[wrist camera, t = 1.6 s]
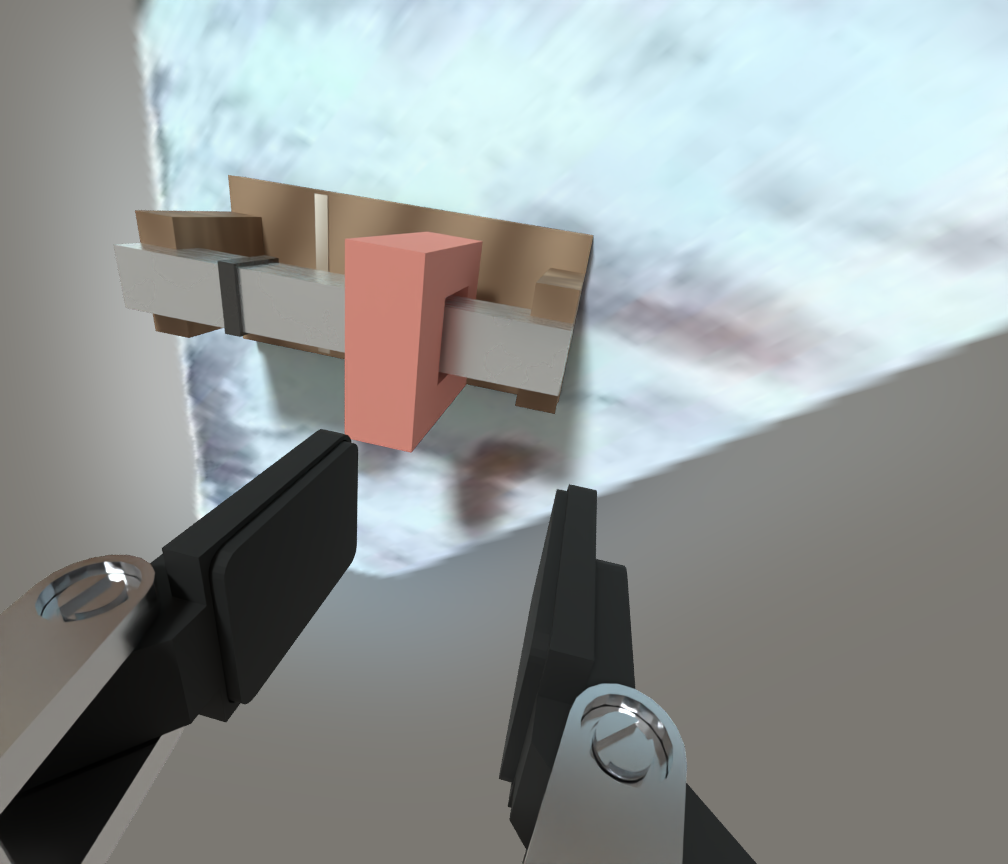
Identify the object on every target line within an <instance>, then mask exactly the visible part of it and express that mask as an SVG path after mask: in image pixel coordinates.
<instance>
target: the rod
mask: <svg viewBox="0 0 1008 864" xmlns="http://www.w3.org/2000/svg"><path fill="white" fill-rule="evenodd" d="M114 250H115V256H116V261H117V266H118V271H119V276H120V281H121V286H122V291H123V297H124V302H125V307H126V308H128V309H133V310H138V311H143V312H148V313H153V314H158V315H163V316H167V317H172V318H177V319H182V320H187V321H192V322H197V323H202V324H207V325H212V326H216V327H221V328H225V334H229V335H234V336H239V337H241V336H244V335H247V334H250V333H251V334H256V335H261V336H266V337H270V338H275V339H280V340H285V341H290V342H295V343H300V344H305V345H310V346H315V347H320V348H324V349H329V350H334V351H339V352H344V353H345V275H342V274H337V273H332V272H326V271H321V270H316V269H310V268H305V267H299V266H294V265H289V264H283V263H279V258H276V257H271V256H266V255H262V256H254V257H245V256H240V255H235V254H229V253H224V252H219V251H213V250H208V249H202V248H192V249H179V250H175V249H170V248H165V247H159V246H154V245H149V244H143V243H134V244H133V243H132V244H115V245H114ZM530 315H531V309H526V308H520V307H515V306H509V305H504V304H499V303H493V302H488V301H483V300H477V299H472V298H466V297H461V296H456V295H450V296H448V297H446V298H445V306H444V317H443V328H442V339H441V350H440V361H439V372H442V373H447V374H452V375H457V376H462V377H467V378H472V379H477V380H482V381H486V382H491V383H496V384H501V385H506V386H511V387H516V388H521V389H526V390H531V391H535V392H540V393H545V394H550V395H555V396H558V394H559V390H560V386H561V382H562V377H563V373H564V368H565V363H566V359H567V354H568V349H569V348H568V347H569V344H570V340H571V335H572V334H571V333H572V330H573V329H572V328H573V325H574V324H571V323H566V322H560V321H555V320H550V319H544V318H539V317H534V316H530Z"/></svg>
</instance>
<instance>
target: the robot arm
mask: <svg viewBox="0 0 1008 864" xmlns="http://www.w3.org/2000/svg"><path fill="white" fill-rule="evenodd" d="M357 492H358V447H357V445H356V444H354V443H351V439H350V437H349V436H348V435H346V434H341V433H337V432H332V431H328V430H323V429H320V430H318V431H317V432H315V433H314V434H313V435H311V436H310V437H309V438H307V439H306V440H305V441H303V442H302V443H301V444H299V445H298V446H297V447H295V448H294V449H293V450H291V451H290V452H289V453H287V454H286V455H285V456H283V457H282V458H281V459H279V460H278V461H277V462H275V463H274V464H273V465H271V466H270V467H269V468H267V469H266V470H265V471H263V472H262V473H261V474H259V475H258V476H257V477H256V478H254V479H253V480H252V481H250V482H249V483H248V484H246V485H245V486H244V487H242V488H241V489H240V490H238V491H237V492H236V493H234V494H233V495H232V496H230V497H229V498H228V499H226V500H225V501H224V502H222V503H221V504H220V505H218V506H217V507H216V508H214V509H213V510H212V511H210V512H209V513H208V514H206V515H205V516H204V517H202V518H201V519H200V520H198V521H197V522H196V523H194V524H193V525H192V526H190V527H189V528H188V529H187V530H185V531H184V532H183V533H181V534H180V535H179V536H177V537H176V538H175V539H173V540H172V541H171V542H169V543H168V544H167V545H165V546H164V547H163V548H162V551H163V554H162V555H160V556H159V557H158V558H157V559H155V560H154V561H153V562H151V563H148V562H147V561H145V560H144V559H142V558H140V557H136V556H131V555H105V556H99V557H94V558H89V559H86V560H83V561H79V562H76V563H73V564H70V565H68V566H66V567H64V568H62V569H60V570H58V571H55V572H53V573H52V574H50V575H49V576H47V577H46V578H44V579H43V580H41V581H40V582H38V583H37V584H36V585H34V586H33V587H32V588H31V589H30V590H28V591H27V592H26V593H25V594H24V595H22V596H21V597H20V598H19V599H18V600H16V601H15V602H14V603H13V604H12V605H10V606H9V607H8V608H7V609H6V610H5V611H3V612H2V613H1V614H0V864H106V862H107V860H108V859H109V857H110V855H111V853H112V852H113V850H114V848H115V847H116V845H117V843H118V842H119V840H120V838H121V836H122V835H123V833H124V831H125V830H126V828H127V826H128V825H129V823H130V821H131V820H132V818H133V816H134V814H135V813H136V811H137V809H138V808H139V806H140V804H141V803H142V801H143V799H144V798H145V796H146V794H147V792H148V791H149V789H150V787H151V786H152V784H153V782H154V781H155V779H156V777H157V775H158V774H159V772H160V770H161V769H162V767H163V765H164V764H165V762H166V760H167V759H168V757H169V755H170V753H171V752H172V750H173V748H174V747H175V745H176V743H177V742H178V740H179V738H180V736H181V734H182V731H183V729H184V727H185V726H186V725H189V724H191V723H192V722H193V720H194V719H195V718H196V717H197V715H198V714H200V715H203V716H206V717H209V718H213V719H217V720H219V721H223V722H227V721H228V719H229V718H230V717H231V715H232V714H233V712H234V711H235V710H236V708H237V707H238V706H239V704H240V703H242V704H247V703H249V702H250V701H251V700H252V699H253V698H254V697H255V696H256V694H257V693H258V692H259V690H260V689H261V687H262V686H263V685H264V683H265V682H266V681H267V679H268V678H269V676H270V675H271V674H272V672H273V671H274V670H275V668H276V667H277V665H278V664H279V663H280V661H281V660H282V658H283V657H284V656H285V654H286V653H287V652H288V650H289V649H290V647H291V646H292V645H293V643H294V642H295V640H296V639H297V638H298V636H299V635H300V633H301V632H302V631H303V629H304V628H305V626H306V625H307V624H308V622H309V621H310V620H311V618H312V617H313V615H314V614H315V613H316V611H317V610H318V609H319V607H320V606H321V604H322V603H323V602H324V600H325V599H326V597H327V596H328V595H329V593H330V592H331V590H332V589H333V588H334V586H335V585H336V584H337V582H338V581H339V580H340V578H341V577H342V575H343V574H344V573H345V571H346V570H347V569H348V567H349V566H350V564H351V563H352V561H353V559H354V556H355V553H356V547H357ZM596 510H597V491H596V490H592V489H588V488H583V487H579V486H575V485H570V484H569V486H568V490H567V491H564V490H559V489H557V491H556V495H555V500H554V504H553V508H552V513H551V517H550V521H549V526H548V530H547V535H546V539H545V543H544V548H543V552H542V556H541V561H540V565H539V569H538V574H537V578H536V583H535V587H534V592H533V596H532V601H531V606H530V611H529V616H528V622H527V627H526V633H525V638H524V644H523V649H522V655H521V660H520V665H519V671H518V676H517V682H516V688H515V693H514V698H513V704H512V709H511V715H510V720H509V725H508V731H507V736H506V742H505V747H504V753H503V759H502V764H501V769H500V775H499V779H501V780H505V781H508V782H511V789H510V796H509V802H508V807H511V813H510V822H511V823H512V825H513V827H514V829H515V830H516V832H517V834H518V836H519V838H520V839H521V841H522V843H523V845H524V846H525V848H526V851H525V854H524V857H523V861H522V864H756V862H755V861H754V860H753V859H752V858H751V857H750V856H749V854H748V853H747V852H746V851H745V850H744V849H743V847H742V846H741V845H740V844H739V843H738V842H737V841H736V839H735V838H734V837H733V836H732V835H731V834H730V833H729V831H728V830H727V829H726V828H725V827H724V826H723V824H722V823H721V822H720V821H719V820H718V819H717V818H716V816H715V815H714V814H713V813H712V812H711V811H710V809H709V808H708V807H707V806H706V805H705V804H704V803H703V801H702V800H701V799H700V798H699V797H698V796H697V795H696V794H695V792H694V791H693V790H692V789H691V788H690V786H689V785H688V784H687V783H686V771H687V763H686V755H685V746H684V744H683V741H682V739H681V736H680V734H679V731H678V729H677V727H676V726H675V724H674V723H673V722H672V720H671V719H670V717H669V716H668V715H667V713H666V712H665V711H664V710H663V709H662V708H661V707H660V706H659V705H658V704H656V703H655V702H654V701H653V700H652V699H651V698H649V697H648V696H646V695H644V694H642V693H641V692H639V691H637V690H636V689H635V678H634V664H633V650H632V636H631V622H630V607H629V594H628V579H627V571H626V567H625V566H623V565H619V564H615V563H611V562H607V561H602V560H598V559H596V512H597V511H596Z"/></svg>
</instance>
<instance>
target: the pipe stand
mask: <svg viewBox="0 0 1008 864" xmlns="http://www.w3.org/2000/svg"><path fill="white" fill-rule="evenodd" d="M228 178H229V189H230V200H231V211H232V212H219V211H142V210H141V211H140V210H139V211H135V213H136V219H137V225H138V230H139V236H140V242H141V243H143V244H149V245H154V246H159V247H165V248H170V249H175V250H179V249H192V248H202V249H208V250H213V251H219V252H224V253H229V254H235V255H240V256H245V257H254V256H262V255H266V256H271V257H276V258H279V263H283V264H289V265H294V266H299V267H305V268H310V269H316V270H321V271H326V272H332V273H337V274H342V275H345V239H348V238H360V237H371V236H383V235H394V234H406V233H417V232H432V233H438V234H444V235H450V236H456V237H462V238H467V239H473V240H479V241H483V243H482V251H481V260H480V268H479V277H478V285H477V294H476V299H477V300H483V301H488V302H493V303H499V304H504V305H509V306H515V307H520V308H526V309H531V315H530V316H534V317H539V318H544V319H550V320H555V321H560V322H566V323H571V324H574V325H573V328H572V329H573V330H574V326H575V321H576V316H577V311H578V307H579V302H580V297H581V292H582V288H583V283H584V278H585V273H586V269H587V264H588V259H589V254H590V250H591V245H592V240H593V235H588V234H582V233H576V232H570V231H564V230H558V229H552V228H546V227H540V226H534V225H528V224H522V223H516V222H510V221H504V220H498V219H492V218H486V217H480V216H474V215H468V214H462V213H456V212H450V211H444V210H438V209H432V208H426V207H420V206H414V205H408V204H402V203H396V202H390V201H384V200H378V199H372V198H366V197H360V196H354V195H348V194H342V193H336V192H330V191H324V190H318V189H312V188H306V187H300V186H294V185H288V184H282V183H276V182H270V181H264V180H258V179H252V178H246V177H240V176H231V175H228ZM153 317H154V323H155V329H156V331H158V332H164V333H168V334H173V335H178V336H182V337H187V338H190V337H194V336H197V335H201V334H204V333H207V332H211V331H214V330H218V329H221V327H216V326H212V325H207V324H202V323H197V322H192V321H187V320H182V319H177V318H172V317H167V316H163V315H158V314H153ZM573 330H572V333H571V334H572V335H573ZM572 335H571V340H572ZM243 338H244V339H249V340H254V341H259V342H264V343H268V344H273V345H278V346H283V347H288V348H293V349H298V350H303V351H307V352H312V353H317V354H322V355H327V356H332V357H337V358H342V359H345V353H344V352H339V351H334V350H329V349H324V348H320V347H315V346H310V345H305V344H300V343H295V342H290V341H285V340H280V339H275V338H270V337H266V336H261V335H256V334H251V333H250V334H247V335H244V336H243ZM571 340H570V344H569V347H568V348H569V349H570V345H571ZM569 349H568V354H569ZM568 354H567V359H568ZM567 359H566V363H565V368H566V364H567ZM565 368H564V373H565ZM564 373H563V377H562V382H561V386H560V390H559V394H558V396H555V395H550V394H545V393H540V392H535V391H531V390H526V389H521V388H516V387H511V386H506V385H501V384H496V383H491V382H486V381H482V380H477V379H472V378H467V379H466V384H468V385H473V386H478V387H483V388H488V389H493V390H497V391H502V392H507V393H512V394H517V398H516V404H515V406H519V407H524V408H529V409H533V410H538V411H543V412H548V413H553V414H555V410H556V406H557V403H558V401H559V397H560V392H561V387H562V383H563V378H564Z"/></svg>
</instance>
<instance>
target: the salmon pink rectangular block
mask: <svg viewBox="0 0 1008 864" xmlns="http://www.w3.org/2000/svg"><path fill="white" fill-rule="evenodd" d="M482 243H483V241H479V240H473V239H467V238H462V237H456V236H450V235H444V234H438V233H432V232H417V233H406V234H394V235H383V236H371V237H360V238H348V239H345V434H346V435H348V436H349V437H350V439H353V440H357V441H362V442H366V443H371V444H375V445H380V446H384V447H389V448H393V449H398V450H402V451H407V452H412V451H413V450H414V449H415V447H416V446H417V445H418V444H419V442H420V441H421V440H422V439H423V437H424V436H425V435H426V434H427V433H428V431H429V430H430V429H431V428H432V426H433V425H434V424H435V423H436V421H437V420H438V419H439V418H440V416H441V415H442V414H443V413H444V411H445V410H446V409H447V408H448V407H449V405H450V404H451V403H452V402H453V400H454V399H455V398H456V397H457V395H458V394H459V393H460V392H461V390H462V389H463V388H464V387H465V385H466V379H467V377H462V376H457V375H452V374H447V373H442V372H439V361H440V350H441V339H442V328H443V317H444V306H445V298H446V297H448V296H450V295H456V296H461V297H466V298H472V299H476V294H477V285H478V277H479V268H480V260H481V251H482Z"/></svg>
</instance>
